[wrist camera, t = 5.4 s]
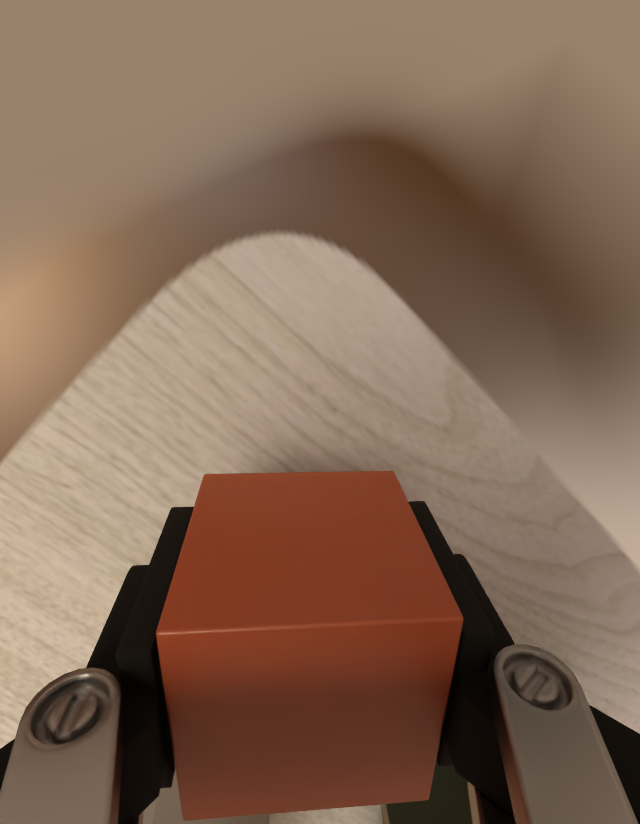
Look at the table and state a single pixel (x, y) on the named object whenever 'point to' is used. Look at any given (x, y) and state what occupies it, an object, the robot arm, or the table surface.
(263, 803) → the block
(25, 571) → the table surface
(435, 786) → the drawer
